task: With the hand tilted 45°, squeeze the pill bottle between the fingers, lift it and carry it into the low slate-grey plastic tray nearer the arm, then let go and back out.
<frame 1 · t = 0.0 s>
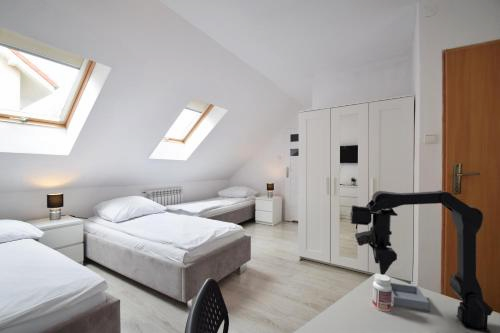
hand: (379, 268, 88), 15 cm above the table, tool pointing down, fingers open, 9 cm apart
pill bottle: (381, 307, 89), on the table
slate tray: (405, 300, 94), on the table
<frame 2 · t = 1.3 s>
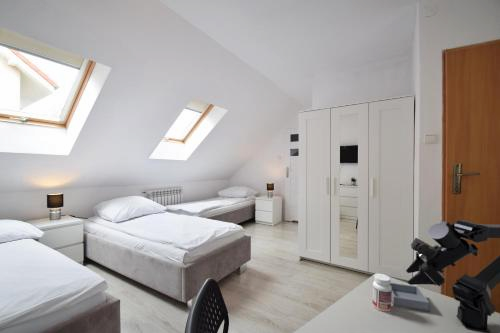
hand: (407, 277, 85), 13 cm above the table, tool tilted 45°, fingers open, 9 cm apart
nothing on the table moved.
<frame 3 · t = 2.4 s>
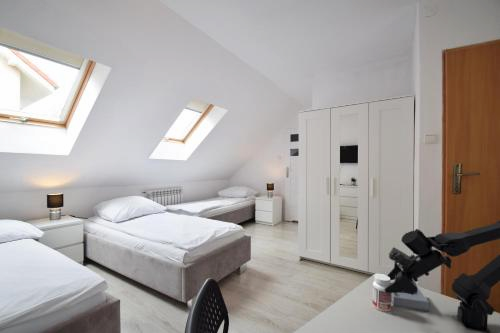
hand: (385, 285, 88), 9 cm above the table, tool tilted 45°, fingers open, 9 cm apart
nothing on the table moved.
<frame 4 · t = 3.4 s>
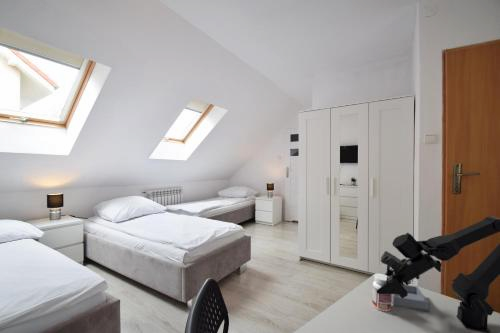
hand: (377, 288, 90), 7 cm above the table, tool tilted 45°, fingers closed on pill bottle, 6 cm apart
pill bottle: (381, 307, 89), on the table, touching gripper
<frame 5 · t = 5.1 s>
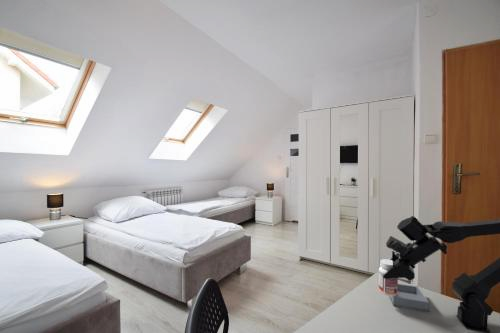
hand: (383, 273, 90), 12 cm above the table, tool tilted 45°, fingers closed on pill bottle, 6 cm apart
pill bottle: (387, 292, 90), point 5 cm above the table, touching gripper
when the fingers open (9 cm above the table, at t = 7.1 s): pill bottle drops 1 cm, resting on slate tray.
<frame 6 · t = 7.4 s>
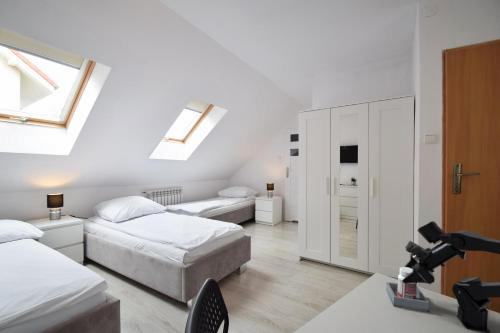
hand: (402, 276, 94), 9 cm above the table, tool tilted 45°, fingers open, 9 cm apart
pill bottle: (406, 298, 93), point 1 cm above the table, touching slate tray
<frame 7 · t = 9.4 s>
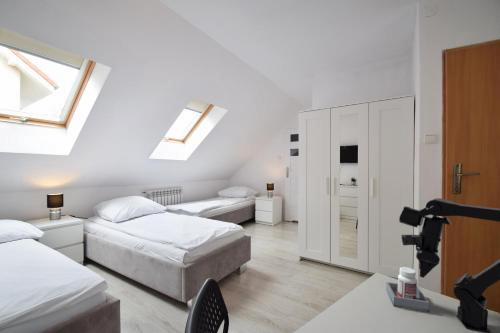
hand: (421, 273, 89), 13 cm above the table, tool pointing down, fingers open, 9 cm apart
nothing on the table moved.
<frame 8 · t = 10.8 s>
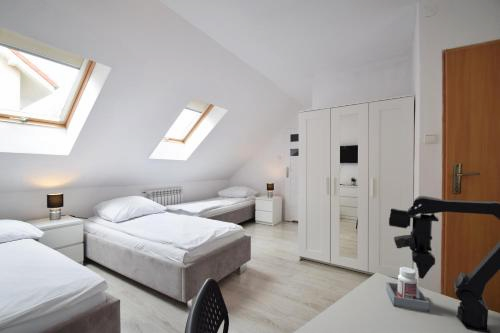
hand: (419, 272, 89), 13 cm above the table, tool pointing down, fingers open, 9 cm apart
nothing on the table moved.
at the end: pill bottle 0.1 cm off-centre on the slate tray, point 0.6 cm above the slate tray's base; pill bottle tilted 0°; the gripper is holding nothing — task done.
